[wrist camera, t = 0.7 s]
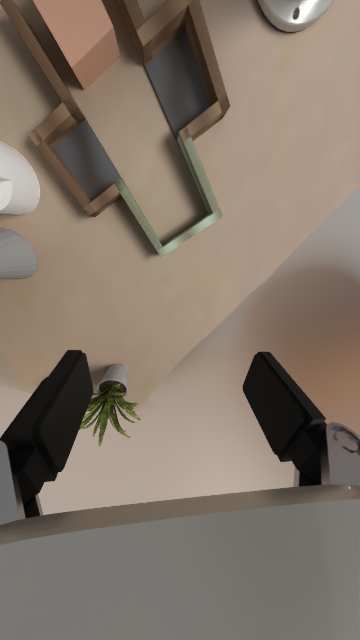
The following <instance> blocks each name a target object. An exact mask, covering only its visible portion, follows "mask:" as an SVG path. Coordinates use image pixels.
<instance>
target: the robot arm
mask: <svg viewBox="0 0 360 640" xmlns="http://www.w3.org/2000/svg"><path fill="white" fill-rule="evenodd" d="M334 1H335V0H258V2H259V4H260V6H261V8H262V10H263V13H264V14H265V16H266V17H267V18H268V20H269V21H270V22H271V23H272V24H273V25H274V26H276V27H277V28H278V29H281V30H284V31H286V32H297V31H300V30H303V29H306V28H307V27H309V26H310V25H312V24H313V23H315V22H316V21H317V20H318V19H319V18H320V17H321V16H322V15H323V14H324V13H325V12H326V10H327V9H328V8H329V7H330V6H331V4H332V3H333V2H334ZM243 392H244V394H245V396H246V398H247V400H248V402H249V404H250V406H251V408H252V410H253V412H254V414H255V416H256V418H257V420H258V422H259V424H260V426H261V428H262V430H263V432H264V434H265V436H266V439H267V440H268V443H269V445H270V447H271V448H272V451H273V452H274V454H276V455H277V456H278V458H279V460H280V462H287V461H291V460H292V462H293V464H294V465H295V473H294V487H290V488H280V489H270V490H260V491H251V492H240V493H231V494H221V495H212V496H202V497H193V498H184V499H176V500H166V501H156V502H147V503H138V504H129V505H120V506H111V507H102V508H94V509H86V510H78V511H71V512H63V513H55V514H48V515H43V512H42V508H41V504H40V500H39V496H38V493H39V492H40V490H41V488H42V486H43V484H44V482H48V481H55V479H56V477H57V474H58V472H61V471H62V470H63V469H64V467H65V464H66V462H67V459H68V456H69V454H70V451H71V449H72V446H73V444H74V441H75V438H76V436H77V433H78V430H79V428H80V426H81V423H82V420H83V418H84V415H85V413H86V410H87V408H88V405H89V402H90V400H91V397H92V394H93V385H92V381H91V376H90V371H89V367H88V362H87V357H86V354H85V353H82V351H81V350H68V351H67V352H66V353H65V354H64V356H63V357H62V359H61V360H60V361H59V363H58V364H57V365H56V367H55V368H54V370H53V371H52V372H51V374H50V375H49V377H47V378H45V379H44V380H43V381H42V382H41V383H40V385H39V386H38V387H37V389H36V390H35V392H34V393H33V394H32V396H31V397H30V399H29V400H28V401H27V402H26V404H25V405H24V407H23V408H22V409H21V411H20V412H19V413H18V415H17V416H16V417H15V419H14V420H13V421H12V423H11V424H10V425H9V427H8V428H7V430H6V431H5V432H4V434H3V435H2V436H1V438H0V640H360V436H359V435H358V434H356V433H355V432H354V431H353V430H351V429H350V428H348V427H346V426H344V425H342V424H339V423H335V422H332V423H329V424H326V423H325V422H324V421H325V419H326V418H325V417H324V416H323V414H322V413H321V412H320V411H319V410H318V408H317V407H316V406H315V405H314V404H313V403H312V401H311V400H310V399H309V398H308V397H307V396H306V394H305V393H304V392H303V391H302V390H301V388H300V387H299V386H298V385H297V384H296V383H295V381H294V380H293V379H292V378H291V377H290V375H289V374H288V373H287V372H286V371H285V369H284V368H283V367H282V366H281V365H280V364H279V362H278V361H277V360H276V359H275V358H274V357H273V355H272V354H271V353H270V352H258V353H257V354H256V355H255V356H254V358H253V361H252V363H251V366H250V369H249V371H248V373H247V376H246V379H245V381H244V384H243Z"/></svg>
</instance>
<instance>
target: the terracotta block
mask: <svg viewBox="0 0 360 640" xmlns="http://www.w3.org/2000/svg"><path fill="white" fill-rule="evenodd" d="M33 2H34V3H35V5H36V7H37V9H38V10H39V12H40V14H41V16H42V18H43V19H44V21H45V23H46V25H47V26H48V28H49V30H50V31H51V33H52V35H53V37H54V38H55V40H56V42H57V44H58V45H59V47H60V49H61V51H62V52H63V54H64V56H65V58H66V59H67V61H68V63H69V65H70V66H71V68H72V70H73V71H74V73H75V75H76V77H77V78H78V80H79V82H80V84H81V85H82V87H83V89H84V90H85V89H86V88H87V87H88V86H89V85H90V84H91V83H92V82H94V81H95V80H96V79H97V78H98V77H99V76H100V75H101V74H102V73H103V72H104V71H105V70H106V69H107V68H108V67H109V66H110V65H111V64H112V63H113V62H115V61H116V60H117V59H118V58H119V57H120V53H119V49H118V44H117V40H116V36H115V31H114V27H113V25H112V22H111V20H110V18H109V16H108V14H107V11H106V9H105V7H104V5H103V3H102V1H101V0H33Z"/></svg>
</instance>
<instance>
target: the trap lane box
mask: <svg viewBox="0 0 360 640" xmlns="http://www.w3.org/2000/svg"><path fill="white" fill-rule="evenodd" d="M116 1H117V4H118V6H119V8H120V11H121V13H122V15H123V18H124V20H125V22H126V24H127V27H128V29H129V31H130V34H131V36H132V38H133V41H134V43H135V45H136V48H137V50H138V52H139V54H140V57H141V59H142V61H143V64H144V66H145V68H146V71H147V73H148V75H149V77H150V80H151V82H152V84H153V87H154V89H155V91H156V94H157V96H158V98H159V101H160V103H161V105H162V107H163V110H164V112H165V114H166V117H167V119H168V121H169V124H170V126H171V128H172V131H173V133H174V135H175V137H176V140H177V142H178V144H179V147H180V149H181V151H182V154H183V156H184V158H185V160H186V163H187V165H188V167H189V170H190V172H191V174H192V177H193V179H194V181H195V184H196V186H197V188H198V190H199V193H200V195H201V197H202V200H203V202H204V204H205V207H206V209H207V211H208V213H209V214H208V215H207V216H205V217H204V218H202V219H201V220H199V221H198V222H197V223H195V224H194V225H192V226H191V227H189V228H188V229H186V230H185V231H183V232H182V233H180V234H179V235H177V236H176V237H174V238H173V239H172V240H170V241H169V242H167V243H166V244H164V245H163V246H162V244H161V242H160V241H159V239H158V237H157V236H156V234H155V232H154V231H153V229H152V227H151V226H150V224H149V223H148V221H147V219H146V218H145V216H144V214H143V213H142V211H141V209H140V208H139V206H138V204H137V203H136V201H135V199H134V198H133V196H132V195H131V193H130V191H129V190H128V188H127V186H126V185H125V183H124V181H123V180H122V178H121V176H120V175H119V173H118V171H117V170H116V168H115V166H114V165H113V163H112V162H111V160H110V158H109V157H108V155H107V153H106V152H105V150H104V148H103V147H102V145H101V143H100V142H99V140H98V138H97V137H96V135H95V134H94V132H93V130H92V129H91V127H90V125H89V124H88V122H87V120H86V119H85V117H84V115H83V114H82V112H81V110H80V109H79V107H78V106H77V104H76V102H75V101H74V99H73V97H72V96H71V94H70V92H69V91H68V89H67V87H66V86H65V84H64V82H63V81H62V79H61V78H60V76H59V74H58V73H57V71H56V69H55V68H54V66H53V64H52V63H51V61H50V59H49V58H48V56H47V54H46V53H45V51H44V49H43V48H42V46H41V45H40V43H39V41H38V40H37V38H36V36H35V35H34V33H33V31H32V30H31V28H30V26H29V25H28V23H27V22H26V20H25V19H24V17H23V15H22V14H21V12H20V11H19V9H18V8H17V6H16V5H15V3H14V2H13V0H1V1H0V4H1V5H2V7H3V9H4V10H5V12H6V13H7V15H8V16H9V18H10V20H11V21H12V23H13V24H14V26H15V28H16V29H17V31H18V32H19V34H20V35H21V37H22V39H23V40H24V42H25V43H26V45H27V47H28V48H29V50H30V51H31V53H32V54H33V56H34V58H35V59H36V61H37V62H38V64H39V65H40V67H41V69H42V70H43V72H44V73H45V75H46V77H47V78H48V80H49V81H50V83H51V84H52V86H53V88H54V89H55V91H56V92H57V94H58V95H59V97H60V99H61V100H62V103H61V104H60V105H59V106H58V107H57V108H56V109H55V110H54V111H53V112H52V113H51V114H50V115H49V116H48V117H47V118H46V119H45V120H44V121H43V122H42V123H41V124H40V125H38V126H37V127H36V128H35V129H34V130H33V131H32V132H31V133H30V134H29V137H30V138H31V139H32V141H33V142H34V143H35V145H36V146H37V147H38V149H39V150H40V151H41V153H42V154H43V155H44V157H45V158H46V159H47V161H48V162H49V163H50V165H51V166H52V167H53V169H54V170H55V171H56V173H57V174H58V175H59V177H60V178H61V179H62V181H63V182H64V183H65V185H66V186H67V187H68V188H69V190H70V191H71V192H72V194H73V195H74V196H75V198H76V199H77V200H78V202H79V203H80V204H81V206H82V207H83V208H84V210H85V211H86V212H87V214H88V215H89V216H93V217H96V216H97V215H98V214H100V213H101V212H102V211H104V210H105V209H106V208H107V207H109V206H110V205H111V204H113V203H114V202H115V201H116V200H118V199H119V198H120V197H123V198H124V200H125V201H126V203H127V205H128V206H129V208H130V209H131V211H132V212H133V214H134V216H135V217H136V219H137V220H138V222H139V223H140V225H141V227H142V228H143V230H144V231H145V233H146V235H147V236H148V238H149V239H150V241H151V242H152V244H153V246H154V247H155V249H156V250H157V252H158V254H159V255H160V257H162V256H164V255H165V254H167V253H168V252H170V251H171V250H173V249H174V248H176V247H177V246H179V245H180V244H182V243H183V242H185V241H186V240H188V239H189V238H191V237H192V236H194V235H195V234H197V233H198V232H200V231H201V230H203V229H204V228H206V227H207V226H209V225H210V224H212V223H213V222H215V221H216V220H218V219H219V218H221V217H222V213H221V211H220V208H219V206H218V203H217V201H216V198H215V196H214V193H213V191H212V188H211V186H210V183H209V181H208V178H207V176H206V173H205V171H204V168H203V166H202V163H201V161H200V158H199V156H198V153H197V151H196V148H195V146H194V143H193V141H194V140H195V139H196V138H198V137H199V136H200V135H202V134H203V133H204V132H205V131H207V130H208V129H209V128H211V127H212V126H213V125H214V124H216V123H217V122H218V121H220V120H221V119H222V118H223V117H224V115H225V114H226V112H227V110H228V109H229V107H230V104H229V101H228V97H227V94H226V90H225V87H224V84H223V80H222V77H221V73H220V70H219V67H218V63H217V60H216V56H215V53H214V50H213V46H212V43H211V39H210V36H209V33H208V29H207V26H206V22H205V19H204V15H203V12H202V9H201V5H200V2H199V0H168V1H167V2H166V3H165V4H164V5H163V6H162V7H161V8H160V9H159V10H158V11H157V12H156V13H155V14H154V15H153V16H152V17H151V18H150V19H149V20H148V21H147V22H146V23H145V20H144V18H143V15H142V13H141V10H140V8H139V5H138V3H137V0H116Z"/></svg>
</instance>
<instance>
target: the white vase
mask: <svg viewBox="0 0 360 640" xmlns="http://www.w3.org/2000/svg"><path fill="white" fill-rule="evenodd" d="M39 199H40V186H39V183H38V179H37V176H36V174H35V173H34V171H33V169H32V167H31V166H30V164H29V163H28V162H27V160H26V159H25V158H24V157H23V156H22V155H21V154H20V153H19V152H18V151H17V150H15V149H14V148H12V147H11V146H9V145H7V144H6V143H4V142H2V141H0V214H14V215H24V214H27V213H30V212H32V211H33V210H34V209H35V208H36V206H37V205H38V203H39Z"/></svg>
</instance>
